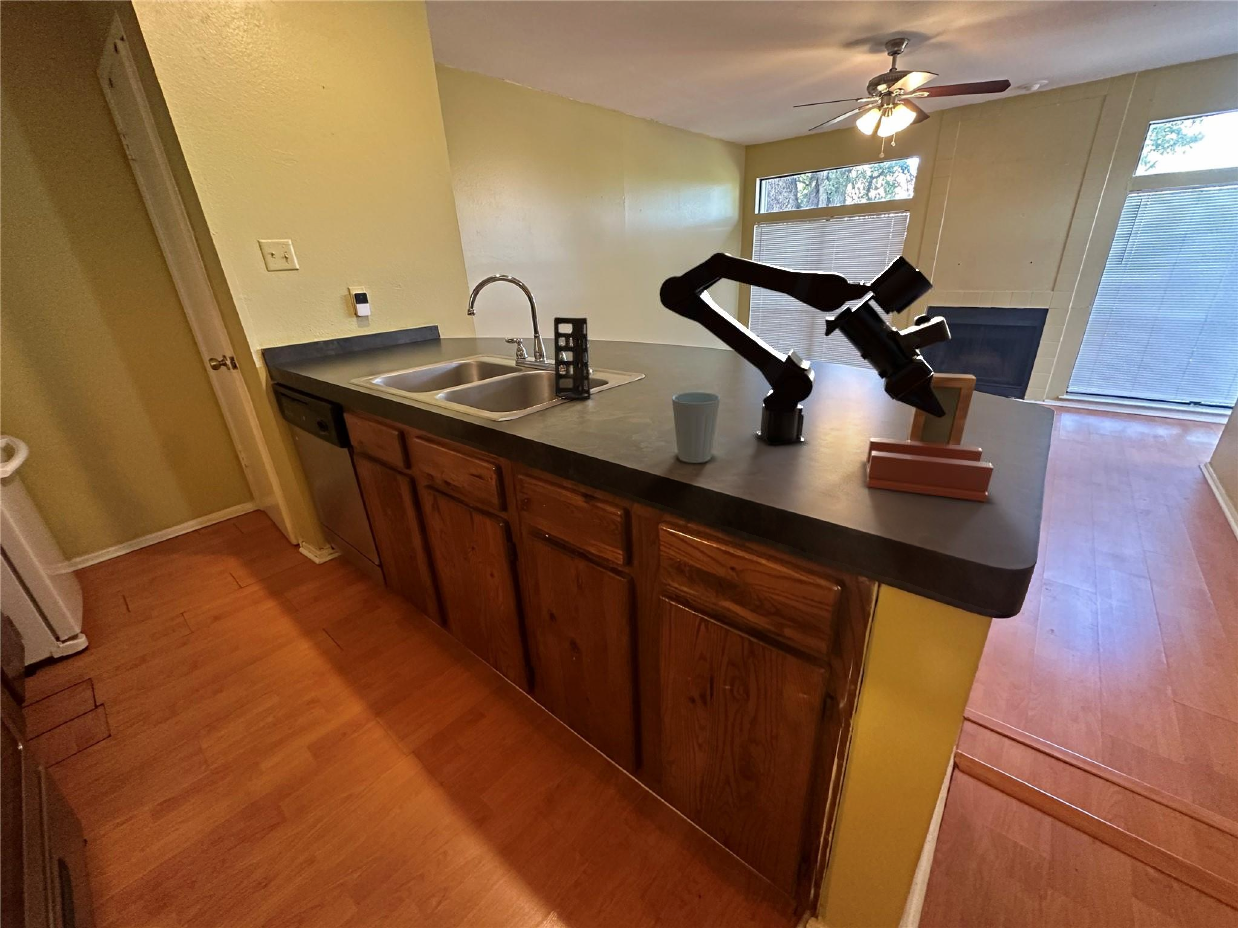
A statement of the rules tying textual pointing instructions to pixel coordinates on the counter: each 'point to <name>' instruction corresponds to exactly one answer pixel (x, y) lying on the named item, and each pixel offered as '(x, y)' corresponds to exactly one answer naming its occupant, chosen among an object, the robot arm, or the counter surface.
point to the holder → (577, 362)
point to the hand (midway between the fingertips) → (938, 408)
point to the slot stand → (928, 468)
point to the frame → (955, 402)
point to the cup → (695, 425)
